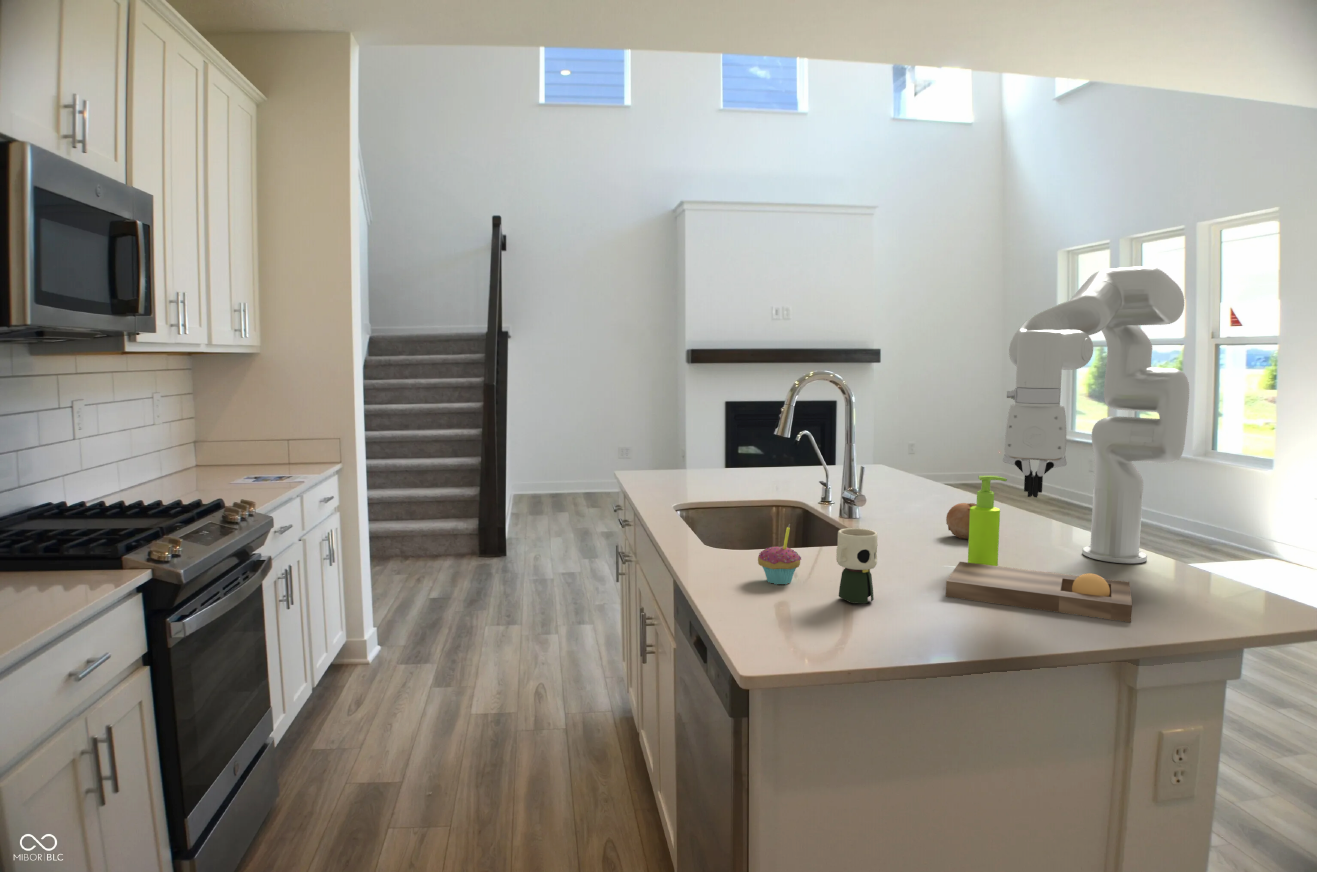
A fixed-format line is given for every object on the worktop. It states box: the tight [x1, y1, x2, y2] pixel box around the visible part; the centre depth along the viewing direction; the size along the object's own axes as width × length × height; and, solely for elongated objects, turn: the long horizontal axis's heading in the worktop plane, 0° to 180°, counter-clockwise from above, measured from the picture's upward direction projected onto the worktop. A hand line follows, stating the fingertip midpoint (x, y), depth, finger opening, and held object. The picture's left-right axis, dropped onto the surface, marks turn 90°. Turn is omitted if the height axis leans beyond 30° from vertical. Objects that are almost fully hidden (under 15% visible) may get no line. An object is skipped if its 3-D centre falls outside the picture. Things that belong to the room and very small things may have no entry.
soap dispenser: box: [967, 475, 1008, 566], centre depth 166 cm, size 6×7×20 cm
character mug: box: [835, 527, 878, 604], centre depth 145 cm, size 11×7×13 cm, turn 127°
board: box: [945, 561, 1133, 623], centre depth 148 cm, size 16×30×3 cm, turn 61°
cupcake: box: [757, 523, 802, 585], centre depth 158 cm, size 9×8×12 cm
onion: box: [945, 502, 977, 540], centre depth 196 cm, size 10×9×10 cm
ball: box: [1072, 572, 1110, 597], centre depth 142 cm, size 6×6×6 cm
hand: (1032, 495), depth 147 cm, fingers closed
